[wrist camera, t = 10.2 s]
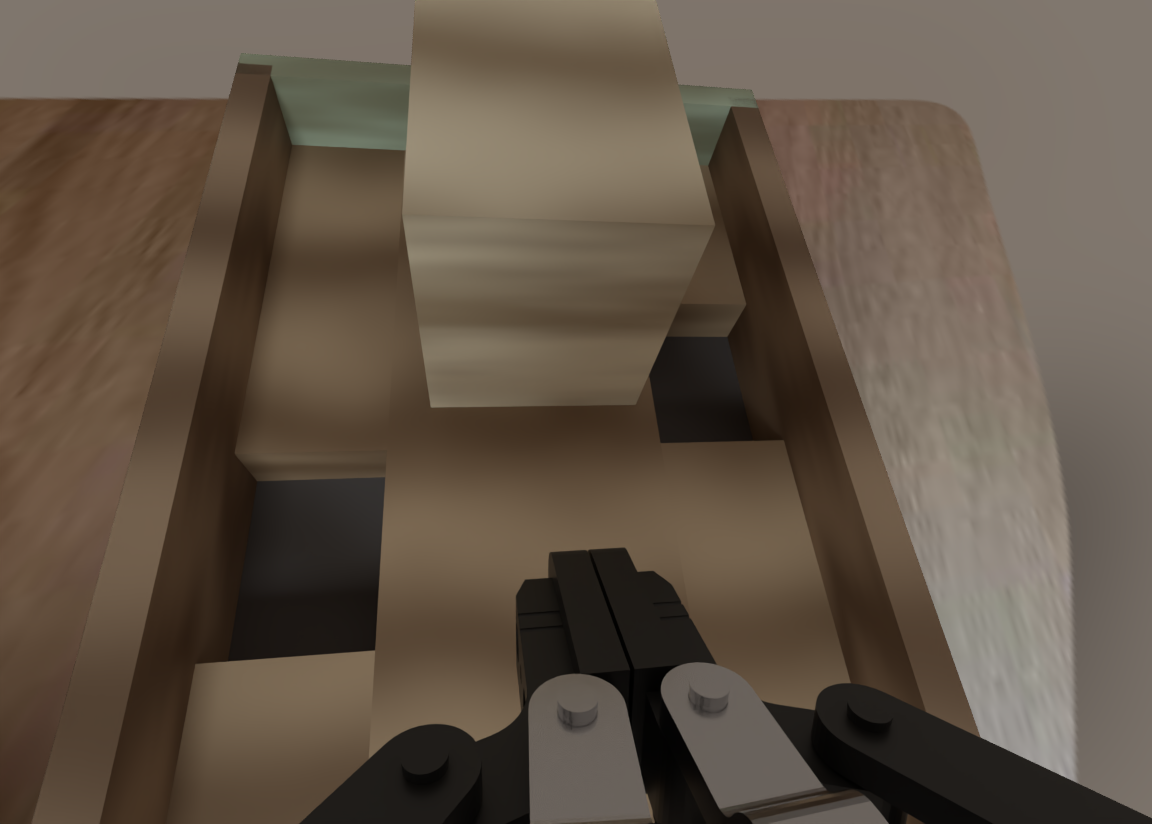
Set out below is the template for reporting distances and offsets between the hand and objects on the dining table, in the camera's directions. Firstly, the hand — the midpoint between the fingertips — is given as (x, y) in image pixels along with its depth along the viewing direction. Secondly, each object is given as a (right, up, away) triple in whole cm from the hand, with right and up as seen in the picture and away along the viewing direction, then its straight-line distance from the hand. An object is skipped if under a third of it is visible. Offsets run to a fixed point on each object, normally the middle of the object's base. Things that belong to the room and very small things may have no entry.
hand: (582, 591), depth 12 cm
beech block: (-2, +9, +11) cm, 14 cm away
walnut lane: (-2, +1, +10) cm, 11 cm away
